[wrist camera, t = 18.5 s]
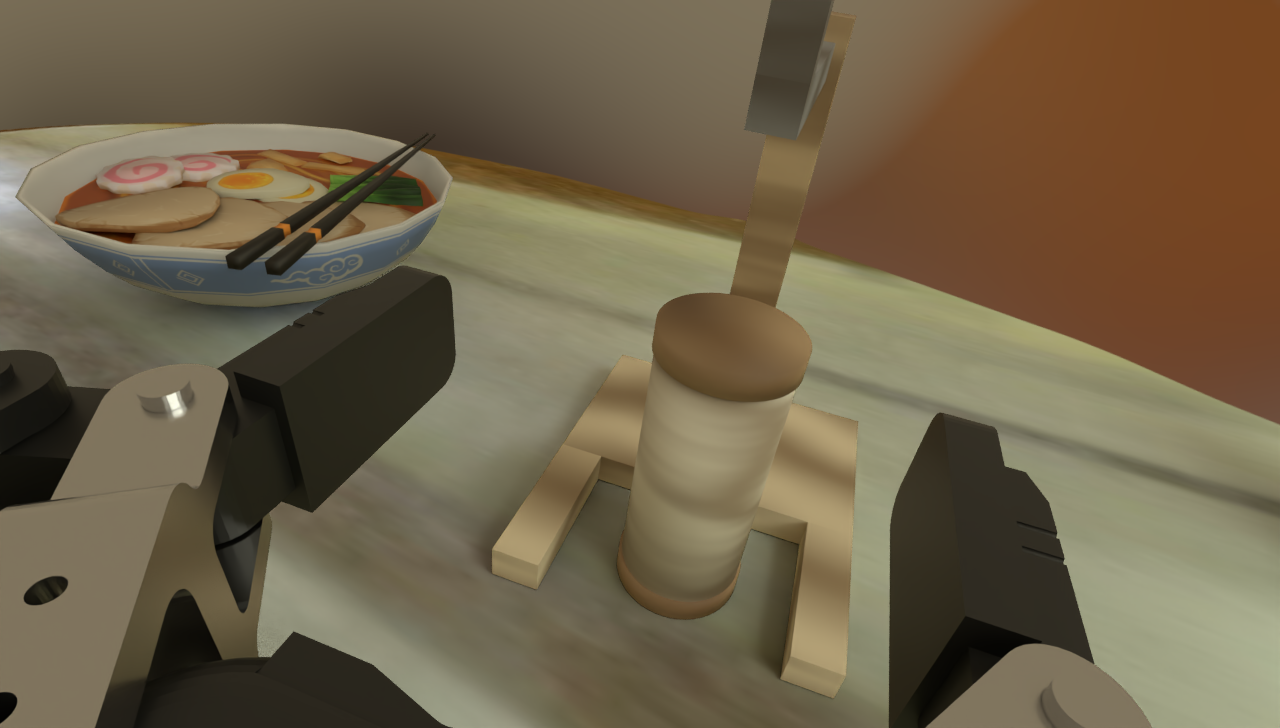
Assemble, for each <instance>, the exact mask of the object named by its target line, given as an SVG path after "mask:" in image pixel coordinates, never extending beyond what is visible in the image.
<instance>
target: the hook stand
mask: <svg viewBox="0 0 1280 728" xmlns="http://www.w3.org/2000/svg"><path fill="white" fill-rule="evenodd" d="M833 3H834V0H772V1H771V5H770V10H769V15H768V19H767V24H766V29H765V34H764V38H763V43H762V48H761V53H760V57H759V62H758V67H757V72H756V76H755V81H754V86H753V91H752V95H751V101H750V105H749V110H748V115H747V119H746V124H745V129H744V130H748V131H752V132H757V133H762V134H766V135H767V136H766V140H765V144H764V148H763V153H762V157H761V162H760V166H759V170H758V174H757V179H756V183H755V187H754V192H753V196H752V201H751V205H750V209H749V214H748V218H747V222H746V227H745V231H744V235H743V240H742V244H741V248H740V253H739V257H738V261H737V266H736V270H735V274H734V279H733V283H732V287H731V292H730V294H731V295H736V296H741V297H746V298H749V299H753V300H756V301H759V302H762V303H765V304H767V305H770V306H772V307H774V308H775V307H776V304H777V300H778V297H779V293H780V289H781V286H782V282H783V279H784V275H785V271H786V268H787V264H788V261H789V257H790V253H791V250H792V246H793V243H794V239H795V235H796V232H797V228H798V225H799V221H800V217H801V214H802V210H803V207H804V203H805V199H806V196H807V192H808V188H809V185H810V181H811V178H812V174H813V170H814V167H815V163H816V160H817V156H818V152H819V149H820V145H821V142H822V138H823V134H824V131H825V127H826V124H827V120H828V116H829V113H830V108H831V106H832V102H833V98H834V95H835V91H836V88H837V84H838V80H839V77H840V73H841V70H842V66H843V62H844V59H845V55H846V52H847V48H848V44H849V41H850V37H851V33H852V30H853V26H854V23H855V19H856V16H855V15H849V14H843V13H838V12H832V7H833ZM651 367H652V363H650V362H647V361H643V360H640V359H636V358H633V357H629V356H626V355H622V357H621V358H620V359H619V361H618V362H617V364H616V365H615V367H614V368H613V370H612V371H611V373H610V374H609V376H608V377H607V379H606V380H605V382H604V383H603V385H602V386H601V388H600V389H599V391H598V392H597V394H596V395H595V397H594V398H593V400H592V401H591V403H590V404H589V406H588V407H587V409H586V410H585V412H584V413H583V415H582V416H581V418H580V419H579V421H578V422H577V424H576V425H575V426H574V428H573V429H572V431H571V432H570V434H569V435H568V437H567V438H566V440H565V441H564V443H563V444H562V446H561V447H560V449H559V450H558V452H557V453H556V455H555V456H554V458H553V459H552V461H551V462H550V464H549V465H548V467H547V468H546V470H545V471H544V473H543V474H542V476H541V477H540V479H539V480H538V482H537V483H536V485H535V486H534V488H533V489H532V491H531V492H530V493H529V495H528V496H527V498H526V499H525V501H524V502H523V504H522V505H521V507H520V508H519V510H518V511H517V513H516V514H515V516H514V517H513V519H512V520H511V522H510V523H509V525H508V526H507V528H506V529H505V531H504V532H503V534H502V535H501V537H500V538H499V540H498V541H497V543H496V544H495V546H494V547H493V549H492V574H495V575H497V576H500V577H503V578H506V579H508V580H511V581H514V582H517V583H519V584H522V585H525V586H528V587H530V588H533V589H536V590H537V588H538V587H539V585H540V583H541V581H542V579H543V578H544V576H545V574H546V572H547V570H548V569H549V567H550V565H551V563H552V561H553V560H554V558H555V556H556V554H557V552H558V551H559V549H560V547H561V545H562V543H563V542H564V540H565V538H566V536H567V534H568V533H569V531H570V529H571V527H572V525H573V524H574V522H575V520H576V518H577V516H578V515H579V513H580V511H581V509H582V507H583V506H584V504H585V502H586V500H587V498H588V497H589V495H590V493H591V491H592V489H593V488H594V486H595V484H596V482H597V480H598V479H600V480H603V481H606V482H609V483H612V484H615V485H618V486H621V487H624V488H627V489H630V490H631V486H632V480H633V474H634V468H635V462H636V456H637V450H638V444H639V438H640V432H641V426H642V420H643V414H644V408H645V402H646V396H647V390H648V384H649V378H650V373H651ZM857 431H858V421H854V420H851V419H847V418H844V417H840V416H837V415H833V414H830V413H826V412H823V411H819V410H816V409H812V408H809V407H805V406H802V405H798V404H795V403H792V404H791V407H790V410H789V413H788V416H787V419H786V422H785V425H784V428H783V432H782V435H781V438H780V441H779V444H778V447H777V450H776V453H775V456H774V459H773V462H772V465H771V468H770V472H769V475H768V478H767V481H766V484H765V487H764V490H763V493H762V496H761V499H760V502H759V505H758V509H757V512H756V515H755V518H754V521H753V524H752V527H751V529H753V530H757V531H760V532H763V533H766V534H769V535H772V536H775V537H778V538H781V539H784V540H787V541H790V542H793V543H797V544H799V549H798V556H797V564H796V571H795V578H794V585H793V592H792V599H791V607H790V614H789V621H788V628H787V635H786V642H785V649H784V657H783V664H782V671H781V678H780V679H781V680H784V681H787V682H789V683H792V684H795V685H798V686H800V687H803V688H806V689H809V690H811V691H814V692H817V693H819V694H822V695H825V696H828V697H830V698H833V699H834V697H835V695H836V693H837V692H838V690H839V688H840V686H841V684H842V682H843V681H844V679H845V677H846V665H847V643H848V622H849V601H850V580H851V558H852V537H853V516H854V495H855V473H856V452H857Z"/></svg>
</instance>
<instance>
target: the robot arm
mask: <svg viewBox="0 0 1280 728" xmlns="http://www.w3.org/2000/svg"><path fill="white" fill-rule="evenodd" d="M455 355H456V351H455V335H454V319H453V303H452V290H451V285H450V283H449V281H448V279H447V278H446V277H444V276H441V275H438V274H434V273H430V272H427V271H423V270H419V269H416V268H412V267H408V266H399V267H397V268H395V269H394V270H392V271H391V272H389V273H387V274H386V275H384V276H383V277H381V278H379V279H378V280H376V281H375V282H373V283H372V284H370V285H367V286H364V287H361V288H358V289H355V290H352V291H348V292H345V293H342V294H339V295H337V296H335V297H333V298H332V299H330V300H328V301H327V302H325V303H324V304H322V305H320V306H319V307H317V308H315V309H314V310H313V313H312V314H311V313H307V314H306V315H304V316H302V317H301V318H299V319H297V320H296V321H294V323H293V326H290V325H288V326H286V327H284V328H283V329H281V330H280V331H278V332H276V333H275V334H273V335H271V336H270V337H268V338H267V339H265V340H263V341H262V342H260V343H258V344H257V345H255V346H254V347H252V348H250V349H249V350H247V351H245V352H244V353H242V354H241V355H239V356H237V357H236V358H234V359H232V360H231V361H229V362H228V363H226V364H224V365H223V366H221V367H219V368H218V369H215V368H213V367H210V366H206V365H200V364H175V365H167V366H162V367H157V368H154V369H150V370H147V371H144V372H141V373H138V374H136V375H134V376H132V377H129V378H127V379H126V380H124V381H122V382H120V383H119V384H117V385H116V386H115V387H113V388H112V389H98V388H83V387H69V386H67V384H66V382H65V380H64V378H63V376H62V374H61V372H60V370H59V368H58V366H57V364H56V362H55V361H54V359H53V358H52V357H50V356H49V355H47V354H44V353H41V352H37V351H30V350H7V351H0V728H451V727H447V726H445V725H443V724H441V723H440V722H438V721H437V720H436V719H434V718H433V717H432V716H431V715H430V714H429V713H427V712H426V711H425V710H424V709H423V708H422V707H421V706H419V705H418V704H417V703H416V702H415V701H414V700H413V699H411V698H410V697H409V696H408V695H407V694H406V693H405V692H403V691H402V690H401V689H400V688H399V687H398V686H397V685H395V684H394V683H393V682H392V681H391V680H390V679H389V678H387V677H386V676H385V675H384V674H383V673H382V672H380V671H379V670H378V669H377V668H376V667H375V666H374V665H372V664H370V663H368V662H365V661H363V660H360V659H358V658H356V657H353V656H351V655H349V654H346V653H344V652H341V651H339V650H337V649H334V648H332V647H329V646H327V645H325V644H322V643H320V642H318V641H315V640H313V639H310V638H308V637H306V636H303V635H301V634H299V633H296V632H293V633H292V634H291V635H290V636H289V637H288V639H287V640H286V641H285V642H284V643H283V644H282V645H281V646H280V648H279V649H278V650H277V651H276V652H275V653H274V654H273V656H272V657H259V656H258V649H257V627H258V620H259V613H260V607H261V600H262V593H263V587H264V580H265V573H266V567H267V560H268V553H269V547H270V540H271V533H272V520H271V517H270V513H269V512H270V511H271V510H272V509H273V508H275V507H276V506H277V505H278V504H279V503H280V502H281V501H282V502H285V503H287V504H290V505H293V506H295V507H298V508H301V509H303V510H306V511H309V512H312V513H313V512H314V511H315V510H316V509H317V508H318V507H319V506H320V505H321V504H322V503H323V502H324V501H325V500H326V499H327V498H328V497H329V496H330V495H331V494H332V493H333V492H334V491H335V490H336V489H337V488H338V487H340V486H341V485H342V484H343V483H344V482H345V481H346V480H347V479H348V478H349V477H350V476H351V475H352V474H353V473H354V472H355V471H356V470H357V469H358V468H359V467H360V466H361V465H362V464H363V463H364V462H365V461H367V460H368V459H369V458H370V457H371V456H372V455H373V454H374V453H375V452H376V451H377V450H378V449H379V448H380V447H381V446H382V445H383V444H384V443H385V442H386V441H387V440H388V439H389V438H390V437H391V436H393V435H394V434H395V433H396V432H397V431H398V430H399V429H400V428H401V427H402V426H403V425H404V424H405V423H406V422H407V421H408V420H409V419H410V418H411V417H412V416H413V415H414V414H415V413H416V412H417V411H418V410H420V409H421V408H422V407H423V406H424V405H425V404H426V403H427V402H428V401H429V400H430V399H431V398H432V397H433V396H434V395H435V394H436V393H437V392H438V391H439V390H440V389H441V388H442V387H443V386H444V385H445V384H446V382H447V381H448V379H449V377H450V375H451V373H452V370H453V367H454V363H455ZM1056 535H1057V530H1056V526H1055V522H1054V519H1053V515H1052V512H1051V508H1050V505H1049V502H1048V501H1047V499H1046V498H1045V497H1044V496H1043V494H1042V493H1041V492H1040V490H1039V489H1038V488H1037V486H1036V485H1035V484H1034V483H1033V481H1032V480H1031V479H1030V477H1029V476H1028V475H1027V473H1026V472H1023V471H1019V470H1016V469H1012V468H1009V467H1005V466H1004V461H1003V456H1002V452H1001V447H1000V442H999V438H998V433H997V430H996V429H995V428H994V427H992V426H988V425H985V424H981V423H977V422H974V421H970V420H966V419H962V418H959V417H955V416H951V415H948V414H944V413H938V414H937V415H936V416H935V417H934V418H933V420H932V422H931V423H930V425H929V427H928V429H927V432H926V434H925V436H924V438H923V440H922V442H921V444H920V446H919V448H918V450H917V452H916V455H915V457H914V459H913V461H912V463H911V465H910V467H909V469H908V471H907V473H906V475H905V478H904V480H903V482H902V484H901V486H900V488H899V491H898V493H897V496H896V499H895V503H894V507H893V511H892V517H891V524H890V636H889V728H1152V727H1151V725H1150V723H1149V721H1148V719H1147V718H1146V716H1145V715H1144V713H1143V711H1142V710H1141V709H1140V707H1139V706H1138V705H1137V703H1136V702H1135V701H1134V700H1133V698H1132V697H1131V696H1130V695H1129V694H1128V693H1127V692H1126V691H1125V690H1124V689H1123V688H1122V686H1121V685H1119V684H1118V683H1117V682H1116V681H1115V680H1114V679H1113V678H1111V677H1110V676H1109V675H1108V674H1107V673H1105V672H1104V671H1103V670H1101V669H1100V668H1098V667H1097V666H1096V665H1094V661H1093V657H1092V654H1091V650H1090V647H1089V643H1088V640H1087V636H1086V633H1085V629H1084V625H1083V622H1082V618H1081V615H1080V611H1079V608H1078V604H1077V601H1076V597H1075V593H1074V590H1073V586H1072V583H1071V579H1070V576H1069V572H1068V569H1067V565H1064V564H1063V562H1064V559H1065V558H1064V554H1063V551H1062V547H1061V544H1060V540H1059V539H1057V538H1056Z"/></svg>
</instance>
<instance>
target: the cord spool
mask: <svg viewBox="0 0 1280 728" xmlns="http://www.w3.org/2000/svg"><path fill="white" fill-rule="evenodd" d="M652 351H653V354H654V355H653V361H652V367H651V373H650V378H649V384H648V390H647V396H646V402H645V408H644V414H643V420H642V426H641V432H640V438H639V444H638V450H637V456H636V462H635V468H634V474H633V480H632V486H631V492H630V498H629V504H628V510H627V516H626V522H625V528H624V530H623V532H622V535H621V539H620V544H619V550H618V556H617V569H618V574H619V577H620V580H621V582H622V584H623V586H624V587H625V589H626V591H627V592H628V593H629V594H630V595H631V597H632V598H633V599H634V600H636V601H637V602H638V603H639V604H640V605H642V606H643V607H645V608H646V609H648V610H650V611H652V612H654V613H656V614H659V615H661V616H665V617H668V618H673V619H684V620H686V619H696V618H701V617H705V616H708V615H710V614H712V613H714V612H716V611H717V610H719V609H720V608H721V607H722V606H724V605H725V604H726V602H727V601H728V600H729V599H730V597H731V595H732V593H733V590H734V587H735V584H736V581H737V578H738V575H739V572H740V566H741V558H742V555H743V552H744V549H745V545H746V542H747V539H748V536H749V533H750V530H751V527H752V524H753V521H754V518H755V515H756V512H757V509H758V505H759V502H760V499H761V496H762V493H763V490H764V487H765V484H766V481H767V478H768V475H769V472H770V468H771V465H772V462H773V459H774V456H775V453H776V450H777V447H778V444H779V441H780V438H781V435H782V432H783V428H784V425H785V422H786V419H787V416H788V413H789V410H790V407H791V404H792V401H793V398H794V395H795V391H796V388H798V387H799V385H800V384H801V382H802V380H803V377H804V374H805V371H806V368H807V365H808V362H809V359H810V355H811V352H812V343H811V340H810V337H809V335H808V334H807V332H806V331H805V330H804V328H803V327H802V326H801V325H800V324H799V323H798V322H796V321H795V320H794V319H793V318H791V317H790V316H788V315H787V314H785V313H784V312H782V311H780V310H778V309H776V308H774V307H772V306H770V305H767V304H765V303H762V302H759V301H756V300H753V299H749V298H746V297H741V296H736V295H731V294H722V293H696V294H689V295H684V296H681V297H678V298H675V299H673V300H671V301H669V302H667V303H666V304H665V305H663V306H662V308H661V309H660V310H659V312H658V314H657V318H656V324H655V330H654V336H653V343H652Z"/></svg>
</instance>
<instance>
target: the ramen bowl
mask: <svg viewBox="0 0 1280 728" xmlns="http://www.w3.org/2000/svg"><path fill="white" fill-rule="evenodd" d="M427 135H428V133H426V134H424V135H422V136H421V137H419V138H417V139H416V140H414V141H413V142H411V143H409V144H408V145H406V144H403V143H401V142H399V141H395V140H390V139H386V138H381V137H377V136H373V135H368V134H363V133H358V132H355V131H350V130H344V129H333V128H323V127H313V126H302V125H291V124H208V125H198V126H189V127H179V128H169V129H160V130H150V131H142V132H137V133H133V134H129V135H124V136H120V137H115V138H111V139H107V140H102V141H98V142H93V143H89V144H85V145H80V146H77V147H75V148H72V149H70V150H68V151H66V152H64V153H62V154H60V155H58V156H56V157H54V158H52V159H50V160H48V161H46V162H44V163H42V164H40V165H37V166H35V167H33V168H31V169H30V171H29V173H28V175H27V176H26V178H25V180H24V182H23V184H22V186H21V187H20V189H19V191H18V193H17V195H16V198H17V199H18V200H19V201H20V202H21V203H22V204H24V205H25V206H26V207H27V208H28V209H29V210H30V211H31V212H32V213H34V214H35V215H36V216H37V217H38V218H39V219H40V220H41V221H43V222H44V223H45V224H46V225H47V226H48V227H49V228H50V229H52V230H53V231H54V232H55V233H56V234H57V235H58V236H60V237H61V238H62V239H63V240H64V241H65V242H66V243H68V244H69V245H70V246H71V247H72V248H73V249H74V250H75V251H77V252H78V253H80V254H81V255H83V256H84V257H86V258H87V259H89V260H90V261H92V262H93V263H95V264H96V265H98V266H99V267H101V268H102V269H104V270H105V271H107V272H109V273H111V274H112V275H114V276H116V277H118V278H120V279H122V280H124V281H126V282H128V283H130V284H132V285H134V286H137V287H141V288H145V289H148V290H152V291H155V292H159V293H162V294H166V295H169V296H173V297H176V298H180V299H183V300H187V301H191V302H196V303H200V304H205V305H224V306H246V307H267V306H275V305H284V304H292V303H301V302H309V301H317V300H320V299H323V298H326V297H330V296H333V295H336V294H339V293H342V292H345V291H348V290H352V289H355V288H358V287H361V286H363V285H365V284H366V283H368V282H370V281H372V280H374V279H376V278H377V277H379V276H380V275H382V274H383V273H385V272H386V271H388V270H390V269H391V268H393V267H394V266H396V265H397V264H399V263H400V262H402V261H404V260H405V259H407V257H408V256H409V255H410V254H411V253H412V252H413V251H414V250H415V249H416V248H417V247H418V246H419V245H420V244H421V242H422V241H423V240H424V238H425V237H426V235H427V234H428V232H429V231H430V229H431V228H432V227H433V225H434V224H435V222H436V219H437V217H438V215H439V213H440V211H441V209H442V207H443V204H444V202H445V200H446V197H447V194H448V191H449V188H450V185H451V182H452V179H453V178H452V176H451V175H450V174H449V173H448V172H447V170H446V169H445V168H444V167H443V166H442V164H441V163H440V162H439V161H438V160H437V158H436V157H434V156H431V155H429V154H427V153H424V152H422V151H420V149H421V148H422V147H424V146H425V145H426V144H427V143H428V142H429V141H430V140H431V139H432V138H433V137H435V134H433V135H432V136H431V137H429V138H428V139H426V140H425V141H424V142H422V143H421V144H420V145H418V146H417V147H416V148H413V147H412V146H414V145H415V144H416V143H418V142H419V141H420V140H422V139H423V138H425V137H426V136H427Z"/></svg>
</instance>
